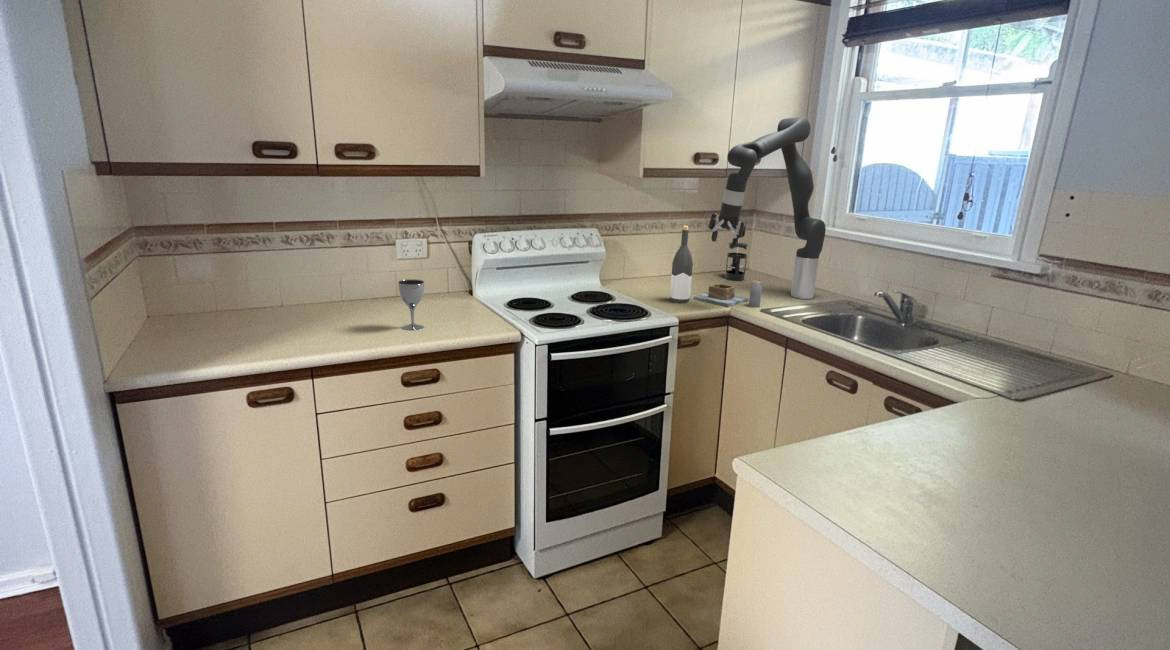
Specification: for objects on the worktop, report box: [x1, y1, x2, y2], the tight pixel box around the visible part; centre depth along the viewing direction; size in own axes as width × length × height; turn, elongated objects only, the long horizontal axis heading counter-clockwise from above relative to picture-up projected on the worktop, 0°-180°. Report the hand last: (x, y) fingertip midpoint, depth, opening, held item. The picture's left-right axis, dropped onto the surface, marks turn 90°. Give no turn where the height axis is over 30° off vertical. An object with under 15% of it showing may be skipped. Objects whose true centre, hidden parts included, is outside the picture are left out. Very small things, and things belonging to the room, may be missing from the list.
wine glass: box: [397, 278, 425, 331], centre depth 202 cm, size 8×8×15 cm
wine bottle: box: [669, 225, 694, 304], centre depth 249 cm, size 8×8×30 cm
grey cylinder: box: [748, 279, 764, 308], centre depth 249 cm, size 4×4×10 cm
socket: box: [693, 283, 749, 308], centre depth 257 cm, size 16×16×6 cm
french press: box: [724, 230, 749, 282], centre depth 297 cm, size 12×9×23 cm
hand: (723, 244), depth 241 cm, fingers open, 8 cm apart
